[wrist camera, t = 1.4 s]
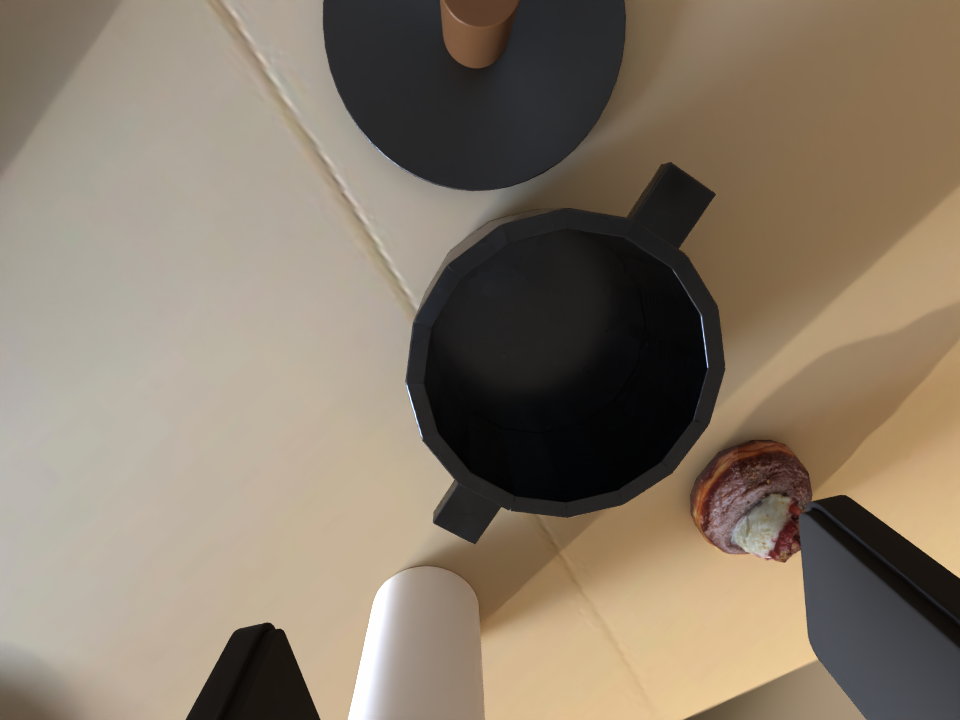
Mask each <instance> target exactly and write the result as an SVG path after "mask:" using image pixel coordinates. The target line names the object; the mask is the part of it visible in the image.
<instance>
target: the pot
mask: <svg viewBox="0 0 960 720" xmlns="http://www.w3.org/2000/svg"><path fill="white" fill-rule="evenodd" d="M715 195H716V194H715V193H714V192H713V191H711V190H710V189H708V188H707V187H706V186H704V185H703V184H701V183H700V182H699V181H697V180H696V179H694V178H693V177H691V176H690V175H689V174H687V173H686V172H684V171H683V170H681V169H680V168H679V167H677V166H676V165H674V164H673V163H672V162H668V163H664V164H661V166H660V167H659V169H658V170H657V172H656V173H655V175H654V176H653V178H652V179H651V181H650V182H649V184H648V186H647V187H646V189H645V190H644V192H643V193H642V195H641V196H640V198H639V199H638V201H637V202H636V204H635V205H634V207H633V208H632V210H631V211H630V213H629V215H628V216H627V218H626V217H620V216H614V215H608V214H602V213H596V212H590V211H584V210H578V209H572V208H556V209H536V210H532V211H528V212H524V213H520V214H515V215H511V216H508V217H504V218H500V219H495V220H491V221H489V222H488V223H486V224H485V225H484V226H482V227H481V228H480V229H478V230H477V231H476V232H474V233H473V234H471V235H470V236H468V237H467V238H466V239H465V240H464V241H462V242H461V243H460V244H458V245H457V246H456V247H454V248H453V249H452V250H450V252H449V253H448V254H447V256H446V258H445V259H444V261H443V263H442V265H441V266H440V268H439V270H438V271H437V273H436V275H435V277H434V278H433V280H432V282H431V283H430V285H429V287H428V288H427V290H426V292H425V294H424V297H423V299H422V302H421V304H420V307H419V309H418V312H417V314H416V316H415V319H414V322H413V326H412V334H411V342H410V350H409V358H408V366H407V374H406V381H405V382H406V387H407V390H408V394H409V397H410V401H411V404H412V407H413V411H414V414H415V418H416V421H417V424H418V428H419V431H420V435H421V438H422V439H423V440H422V441H423V442H424V443H425V444H426V446H427V447H428V448H429V449H430V450H431V452H432V453H433V454H434V455H435V456H436V458H437V459H438V460H439V461H440V462H441V464H442V465H443V466H444V467H445V469H446V470H447V471H448V472H449V473H450V475H451V476H452V477H453V478H454V479H455V480H454V482H453V483H452V485H451V486H450V488H449V489H448V491H447V492H446V494H445V495H444V497H443V498H442V500H441V501H440V503H439V504H438V506H437V508H436V509H435V511H434V514H433V523H434V524H436V525H438V526H440V527H442V528H444V529H446V530H448V531H449V532H451V533H453V534H455V535H457V536H459V537H461V538H463V539H465V540H467V541H469V542H471V543H473V544H476V543H477V541H478V540H479V538H480V537H481V536H482V534H483V533H484V531H485V530H486V528H487V527H488V525H489V524H490V522H491V521H492V520H493V518H494V517H495V515H496V514H497V512H498V511H499V509H500V508H501V507H503V508H505V509H507V510H510V511H515V512H523V513H532V514H540V515H548V516H557V517H567V518H568V517H573V516H577V515H581V514H585V513H590V512H594V511H598V510H602V509H607V508H611V507H615V506H620V505H623V504H625V503H627V502H628V501H630V500H631V499H633V498H634V497H636V496H638V495H639V494H641V493H642V492H644V491H645V490H647V489H648V488H650V487H652V486H653V485H655V484H656V483H658V482H659V481H661V480H662V479H664V478H666V477H667V476H669V475H670V474H672V473H673V471H674V470H675V469H676V468H677V466H678V465H679V464H680V462H681V461H682V460H683V458H684V457H685V456H686V454H687V453H688V452H689V451H690V449H691V448H692V447H693V445H694V444H695V443H696V441H697V440H698V439H699V437H700V436H701V435H702V433H703V432H704V431H705V429H706V428H707V427H708V424H710V420H711V417H712V413H713V410H714V406H715V403H716V399H717V396H718V393H719V389H720V386H721V382H722V379H723V375H724V372H725V360H724V351H723V343H722V334H721V326H720V318H719V310H718V306H717V304H716V302H715V301H714V299H713V298H712V296H711V294H710V293H709V291H708V289H707V288H706V286H705V284H704V283H703V281H702V279H701V278H700V276H699V274H698V273H697V271H696V269H695V268H694V266H693V264H692V263H691V261H690V260H689V258H688V256H686V254H685V253H684V252H682V251H681V250H679V247H680V246H681V245H682V243H683V242H684V240H685V239H686V237H687V236H688V234H689V233H690V231H691V230H692V229H693V227H694V226H695V224H696V223H697V221H698V220H699V218H700V217H701V215H702V214H703V213H704V211H705V210H706V208H707V207H708V205H709V204H710V202H711V201H712V199H713V198H714V197H715Z"/></svg>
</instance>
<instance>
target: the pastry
mask: <svg viewBox="0 0 960 720" xmlns="http://www.w3.org/2000/svg"><path fill="white" fill-rule="evenodd" d="M690 496H691V515H692V518H693V520H694V522H695V525H696V526H697V527H698V529H699V530H700V532H701V533H702V535H703V536H704V538H705V539H706V541H707V542H709V543H710V544H711V545H712V546H713V547H715V548H716V549H717V550H718V551H722V552H725V553H728V554H738V555H743V554H753V555H755V556H757V557H759V558H765V559H766V560H771V559H774V560H775V561H779V562H783V563H785V562H786V561H787V560H788V559H789V558H790V557H791V556H792V555H793V554H794V553H796V552H798V551H799V550H801V543H800V531H799V515H800V514H801V513H803V512H806V506H807V504H808V503H809V502H811V499H812V490H811V484H810V478H809V473H808V472H807V470H806V469H805V467H804V466H803V464H802V463H801V462H800V461H799V460H798V458H797V457H796V456H795V455H794V454H793V453H792V452H791V451H790V449H789V448H788V447H787V446H786V445H785V444H781V443H778V442H775V441H772V440H752V441H749V442H746V443H743V444H740V445H738V446H735V447H732V448H729V449H727V450H724V451H721V452H719V453H718V454H717V455H716V456H715V457H714V459H713V460H712V461H711V462H710V463H709V464H708V466H707V467H706V468H705V469H704V470H703V472H702V473H701V474H700V475H699V476H698V477H697V479H696V481H695V484H694V487H693V489H692V492H691V495H690Z"/></svg>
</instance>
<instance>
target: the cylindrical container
mask: <svg viewBox="0 0 960 720" xmlns="http://www.w3.org/2000/svg"><path fill="white" fill-rule="evenodd" d="M348 720H485V710H484V691H483V673H482V655H481V636H480V618H479V603H478V600H477V597H476V594H475V592H474V591H473V589H472V587H471V586H470V585H469V584H468V583H467V582H466V581H465V580H464V579H463V578H461V577H460V576H459V575H457V574H455V573H453V572H451V571H449V570H446V569H443V568H439V567H431V566H422V567H414V568H410V569H406V570H404V571H401V572H399V573H397V574H395V575H394V576H392V577H391V578H389V579H388V580H387V581H386V582H385V583H384V584H383V585H382V586H381V588H380V589H379V591H378V592H377V594H376V597H375V600H374V603H373V607H372V612H371V617H370V621H369V626H368V631H367V636H366V640H365V645H364V650H363V654H362V659H361V664H360V668H359V673H358V678H357V683H356V687H355V692H354V696H353V701H352V706H351V710H350V715H349V719H348Z"/></svg>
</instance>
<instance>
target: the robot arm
mask: <svg viewBox="0 0 960 720" xmlns="http://www.w3.org/2000/svg"><path fill="white" fill-rule="evenodd" d="M799 531H800V543H801V556H802V568H803V580H804V592H805V605H806V617H807V629H808V637H809V641H810V644H811V646H812V649H813V651H814V653H815V654H816V656H817V658H818V659H819V660H820V662H821V663H822V664H823V665H824V667H825V668H826V669H827V670H828V672H829V673H830V674H831V676H832V677H833V678H834V679H835V680H836V682H837V683H838V684H839V686H840V687H841V688H842V689H843V691H844V692H845V693H846V694H847V695H848V697H849V698H850V699H851V701H852V702H853V703H854V704H855V706H856V707H857V708H858V709H859V711H860V712H861V713H862V714H863V716H864V717H865V718H866V719H867V720H960V578H958V577H957V576H956V575H954V574H953V573H951V572H950V571H949V570H947V569H946V568H945V567H943V566H942V565H941V564H939V563H938V562H937V561H935V560H934V559H932V558H931V557H930V556H928V555H927V554H926V553H924V552H923V551H922V550H920V549H919V548H918V547H916V546H915V545H913V544H912V543H911V542H909V541H908V540H907V539H905V538H904V537H903V536H901V535H900V534H899V533H897V532H896V531H895V530H893V529H892V528H890V527H889V526H888V525H886V524H885V523H884V522H882V521H881V520H880V519H878V518H877V517H876V516H874V515H873V514H871V513H870V512H869V511H867V510H866V509H865V508H863V507H862V506H861V505H859V504H858V503H857V502H855V501H854V500H852V499H851V498H849V497H848V496H846V495H838V496H834V497H829V498H825V499H820V500H816V501H811V502H809V503H808V504H807V506H806V512H803V513H801V514H800V515H799ZM186 720H320V718H319V715H318V713H317V710H316V708H315V705H314V703H313V701H312V698H311V696H310V693H309V691H308V688H307V686H306V683H305V681H304V678H303V676H302V673H301V671H300V669H299V666H298V664H297V661H296V659H295V656H294V654H293V651H292V649H291V646H290V644H289V642H288V639H287V637H286V634H285V633H284V631H283V630H282V629H275V627H274V625H272V624H271V623H263V624H258V625H254V626H249V627H245V628H240V629H238V630H236V631H235V632H234V633H233V634H232V636H231V637H230V639H229V641H228V643H227V645H226V647H225V648H224V650H223V652H222V654H221V656H220V658H219V659H218V661H217V663H216V665H215V667H214V669H213V670H212V672H211V674H210V676H209V678H208V680H207V681H206V683H205V685H204V687H203V689H202V691H201V692H200V694H199V696H198V698H197V700H196V702H195V703H194V705H193V707H192V709H191V711H190V713H189V715H188V716H187V718H186Z"/></svg>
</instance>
